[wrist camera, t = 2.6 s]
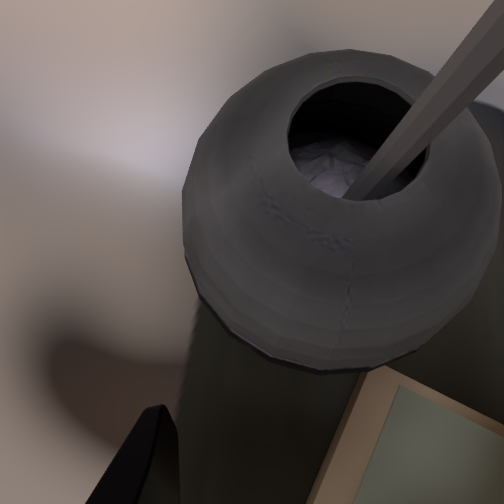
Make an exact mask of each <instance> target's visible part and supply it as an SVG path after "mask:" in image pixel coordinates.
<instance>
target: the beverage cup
mask: <svg viewBox="0 0 504 504" xmlns="http://www.w3.org/2000/svg"><path fill="white" fill-rule="evenodd" d="M503 70H504V0H494V1H493V3H492V4H491V5H490V6H489V8H488V9H487V10H486V12H485V13H484V14H483V16H482V17H481V18H480V19H479V21H478V22H477V23H476V25H475V26H474V27H473V28H472V30H471V31H470V33H469V34H468V35H467V36H466V37H465V39H464V40H463V41H462V43H461V44H460V45H459V47H458V48H457V49H456V51H455V52H454V53H453V54H452V56H451V57H450V58H449V60H448V61H447V62H446V63H445V65H444V66H443V67H442V68H441V70H440V71H439V73H438V74H437V75H436V76H435V77H434V76H433V75H432V74H431V73H429V72H428V71H426V70H423V69H421V68H419V67H416V66H414V65H412V64H409V63H407V62H405V61H403V60H400V59H398V58H396V57H393V56H391V55H385V54H379V53H372V52H365V51H359V50H352V49H346V50H337V51H327V52H317V53H309V54H306V55H304V56H301V57H299V58H296V59H293V60H291V61H288V62H286V63H283V64H280V65H278V66H275V67H273V68H270V69H268V70H266V71H264V72H263V73H261V74H260V75H259V76H257V77H256V78H255V79H253V80H252V81H251V82H249V83H248V84H247V85H245V86H244V87H243V88H241V89H240V90H239V91H238V92H236V93H235V94H233V95H232V96H231V97H230V98H229V99H228V100H227V102H226V103H225V104H224V105H223V107H222V108H221V109H220V111H219V112H218V113H217V115H216V116H215V118H214V119H213V120H212V122H211V123H210V124H209V126H208V127H207V129H206V130H205V131H204V133H203V134H202V135H201V137H200V138H199V140H198V143H197V146H196V149H195V152H194V155H193V158H192V161H191V164H190V167H189V171H188V174H187V177H186V180H185V183H184V186H183V189H182V220H183V244H184V248H185V259H186V262H187V265H188V268H189V271H190V273H191V276H192V279H193V281H194V284H195V287H196V290H197V293H198V295H199V298H200V300H201V301H202V302H203V304H204V305H205V306H206V308H207V309H208V310H209V311H210V313H211V314H212V315H213V316H214V318H215V319H216V320H217V321H218V323H219V324H220V325H221V326H222V328H223V329H224V330H225V331H226V333H227V334H228V335H229V336H230V337H232V338H233V339H235V340H236V341H238V342H239V343H241V344H243V345H244V346H246V347H247V348H249V349H250V350H252V351H253V352H255V353H256V354H258V355H259V356H261V357H263V358H264V359H266V360H267V361H269V362H271V363H274V364H278V365H282V366H286V367H290V368H293V369H297V370H301V371H305V372H309V373H312V374H316V375H329V374H343V373H358V372H370V371H372V370H375V369H377V368H379V367H382V366H384V365H386V364H389V363H391V362H393V361H396V360H398V359H400V358H403V357H405V356H407V355H410V354H412V353H415V352H416V351H417V350H418V349H419V348H420V347H421V346H422V345H423V344H425V343H426V342H427V341H428V340H429V339H431V338H432V337H433V336H434V335H435V334H436V333H437V332H438V331H439V330H440V329H441V328H442V327H443V326H444V325H446V324H447V323H448V322H449V321H450V320H451V319H452V318H453V317H454V316H455V315H456V314H457V313H458V312H460V311H461V310H462V309H463V308H464V307H465V306H466V305H467V304H468V303H469V302H470V301H471V300H472V298H473V296H474V294H475V291H476V289H477V287H478V285H479V283H480V281H481V279H482V277H483V275H484V273H485V271H486V269H487V267H488V265H489V263H490V261H491V259H492V257H493V255H494V252H495V250H496V247H497V245H498V235H499V224H500V213H501V202H502V186H501V182H500V178H499V174H498V171H497V167H496V163H495V159H494V156H493V152H492V148H491V145H490V142H489V140H488V138H487V137H486V135H485V133H484V132H483V130H482V129H481V127H480V126H479V124H478V123H477V121H476V120H475V118H474V117H473V115H472V114H471V112H470V111H469V109H468V108H467V106H468V105H469V104H470V103H471V102H472V101H473V100H474V99H475V98H476V97H477V96H478V95H479V94H480V93H481V92H482V91H483V90H484V89H485V88H486V87H487V86H488V85H489V84H490V83H491V82H492V81H493V80H494V79H495V78H496V77H497V76H498V75H499V74H500V73H501V72H502V71H503Z"/></svg>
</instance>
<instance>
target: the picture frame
mask: <svg viewBox="0 0 504 504" xmlns="http://www.w3.org/2000/svg"><path fill="white" fill-rule="evenodd" d="M305 504H504V425H503V424H501V423H499V422H497V421H495V420H493V419H491V418H489V417H487V416H485V415H483V414H481V413H479V412H477V411H475V410H473V409H471V408H469V407H467V406H465V405H463V404H461V403H459V402H457V401H455V400H453V399H451V398H449V397H447V396H445V395H443V394H441V393H439V392H437V391H435V390H433V389H431V388H429V387H427V386H425V385H423V384H421V383H419V382H417V381H415V380H413V379H411V378H409V377H407V376H405V375H403V374H401V373H399V372H397V371H395V370H393V369H391V368H389V367H387V366H385V365H384V366H382V367H379V368H377V369H375V370H372V371H370V372H361V373H360V375H359V378H358V380H357V382H356V385H355V387H354V389H353V392H352V394H351V397H350V399H349V401H348V404H347V406H346V408H345V411H344V413H343V416H342V418H341V420H340V423H339V425H338V427H337V430H336V432H335V435H334V437H333V439H332V442H331V444H330V446H329V449H328V451H327V454H326V456H325V458H324V461H323V463H322V465H321V468H320V470H319V473H318V475H317V477H316V480H315V482H314V484H313V487H312V489H311V492H310V494H309V496H308V499H307V501H306V503H305Z"/></svg>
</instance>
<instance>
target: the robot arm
mask: <svg viewBox="0 0 504 504" xmlns="http://www.w3.org/2000/svg"><path fill="white" fill-rule="evenodd" d="M85 504H180V484H179V451H178V433H177V429H176V426H175V424H174V422H173V420H172V418H171V415H170V413H169V411H168V409H167V407H166V406H165V405H162V404H161V405H156V406H152V407H148V408H146V409H145V410H144V411H143V412H142V414H141V415H140V417H139V418H138V420H137V422H136V423H135V425H134V426H133V428H132V430H131V431H130V433H129V434H128V436H127V438H126V439H125V441H124V442H123V444H122V446H121V447H120V449H119V450H118V452H117V454H116V455H115V457H114V458H113V460H112V462H111V463H110V465H109V466H108V468H107V470H106V471H105V473H104V474H103V476H102V477H101V479H100V481H99V482H98V484H97V486H96V487H95V489H94V490H93V492H92V494H91V495H90V497H89V498H88V500H87V501H86V503H85Z"/></svg>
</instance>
